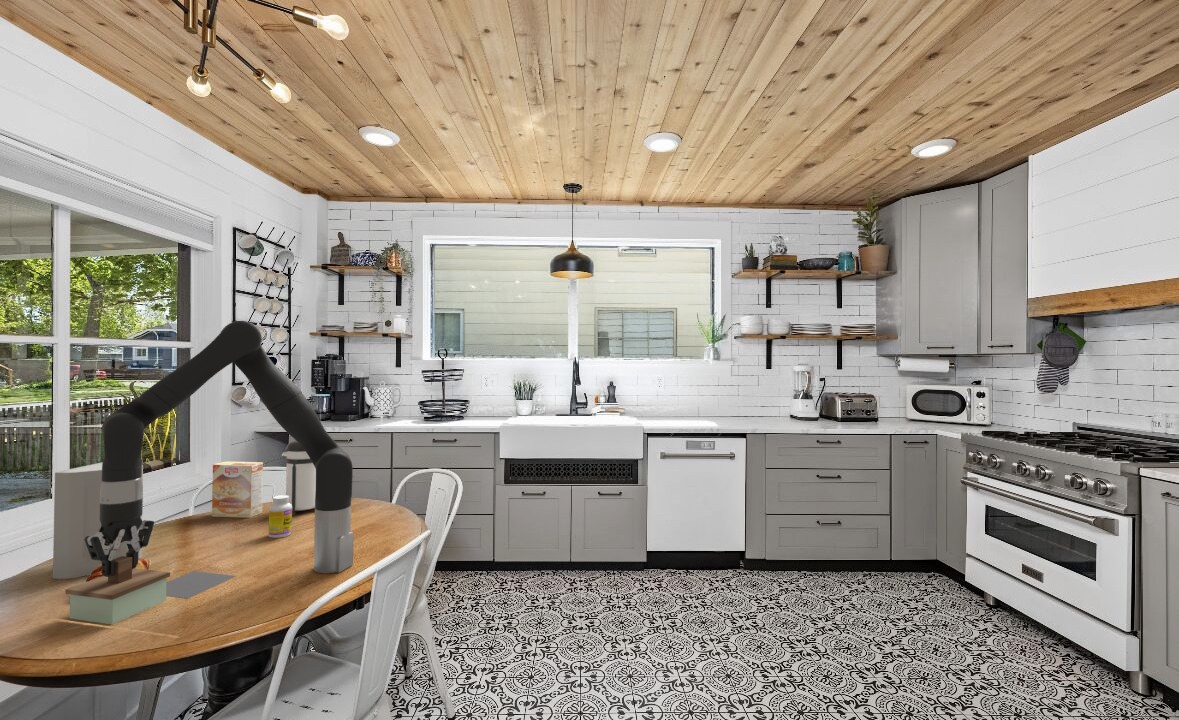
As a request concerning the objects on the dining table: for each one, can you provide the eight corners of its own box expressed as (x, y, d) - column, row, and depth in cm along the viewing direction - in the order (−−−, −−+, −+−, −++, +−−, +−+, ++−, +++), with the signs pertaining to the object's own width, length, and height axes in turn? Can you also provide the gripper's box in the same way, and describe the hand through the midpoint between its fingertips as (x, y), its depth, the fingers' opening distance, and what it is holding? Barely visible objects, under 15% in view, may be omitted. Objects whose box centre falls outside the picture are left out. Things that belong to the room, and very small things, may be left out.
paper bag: (107, 578, 141) (109, 473, 141) (50, 578, 140) (52, 472, 140) (164, 552, 160) (165, 460, 160) (113, 552, 159) (115, 459, 160)
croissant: (137, 580, 148) (124, 555, 148) (171, 563, 149) (158, 538, 149) (69, 615, 127) (53, 585, 127) (109, 594, 128) (93, 565, 128)
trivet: (236, 577, 143) (236, 575, 143) (187, 600, 129) (187, 598, 129) (193, 572, 146) (193, 571, 146) (141, 594, 132) (141, 592, 132)
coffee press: (310, 517, 197) (311, 436, 197) (271, 514, 200) (273, 435, 200) (339, 505, 214) (340, 431, 215) (303, 502, 217) (304, 429, 217)
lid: (170, 576, 128) (170, 551, 128) (111, 599, 116) (112, 572, 116) (126, 571, 131) (127, 547, 131) (65, 593, 118) (65, 566, 118)
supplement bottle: (284, 538, 174) (284, 499, 174) (264, 538, 174) (264, 499, 174) (295, 532, 180) (296, 494, 180) (276, 531, 181) (277, 494, 181)
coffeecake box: (210, 517, 196) (211, 464, 196) (224, 511, 203) (225, 460, 203) (250, 518, 196) (251, 465, 196) (262, 512, 203) (263, 461, 203)
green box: (166, 602, 128) (166, 577, 128) (112, 626, 116) (112, 598, 116) (126, 596, 130) (126, 572, 130) (69, 619, 119) (69, 593, 119)
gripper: (100, 507, 116) (99, 586, 116) (165, 492, 130) (163, 562, 130) (73, 505, 117) (72, 582, 117) (140, 490, 131) (138, 559, 131)
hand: (120, 571), depth 123 cm, fingers open, 4 cm apart
